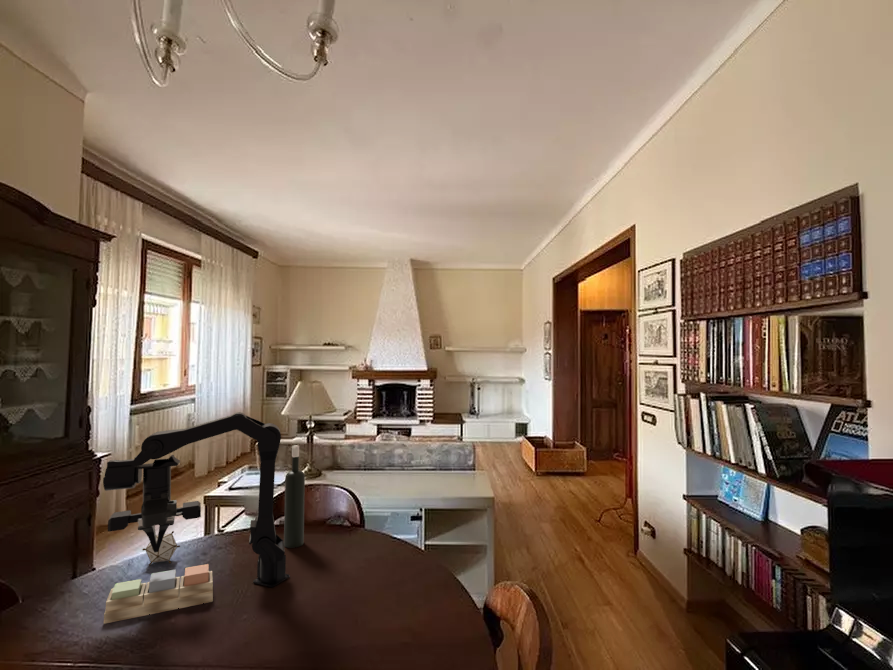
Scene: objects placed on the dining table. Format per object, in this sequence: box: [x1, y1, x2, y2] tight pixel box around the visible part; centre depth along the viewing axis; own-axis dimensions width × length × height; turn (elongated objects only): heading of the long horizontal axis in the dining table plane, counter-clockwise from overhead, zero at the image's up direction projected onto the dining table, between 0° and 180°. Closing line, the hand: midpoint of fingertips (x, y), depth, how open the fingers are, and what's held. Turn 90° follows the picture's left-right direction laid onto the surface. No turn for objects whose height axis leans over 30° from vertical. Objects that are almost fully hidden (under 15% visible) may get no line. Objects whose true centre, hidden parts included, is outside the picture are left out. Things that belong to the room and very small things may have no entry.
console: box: [103, 570, 214, 625], centre depth 111 cm, size 21×9×4 cm, turn 117°
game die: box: [141, 530, 181, 566], centre depth 133 cm, size 9×8×10 cm
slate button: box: [148, 569, 177, 593], centre depth 111 cm, size 5×5×3 cm
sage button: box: [112, 578, 142, 600], centre depth 108 cm, size 5×5×3 cm
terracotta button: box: [184, 563, 210, 586], centre depth 114 cm, size 5×5×3 cm
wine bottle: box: [283, 444, 306, 549], centre depth 147 cm, size 6×6×30 cm
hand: (156, 551), depth 114 cm, fingers closed
